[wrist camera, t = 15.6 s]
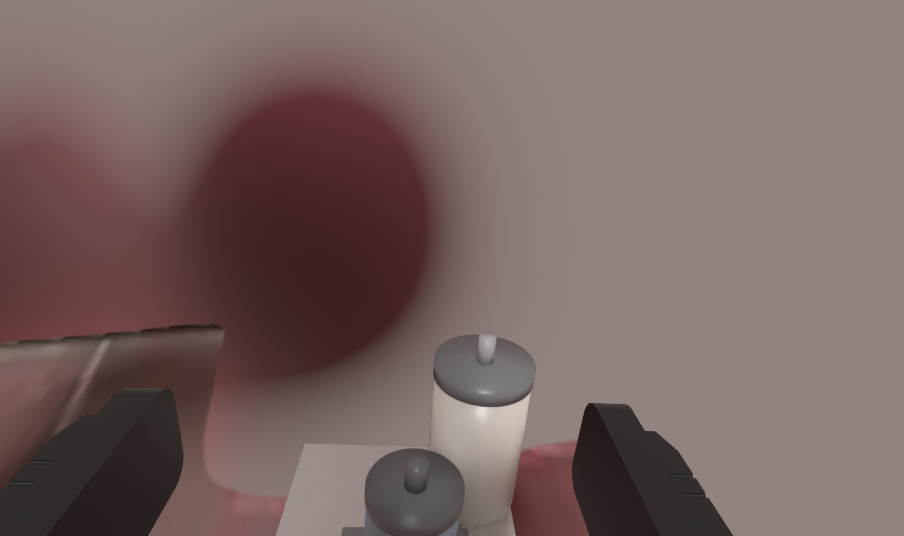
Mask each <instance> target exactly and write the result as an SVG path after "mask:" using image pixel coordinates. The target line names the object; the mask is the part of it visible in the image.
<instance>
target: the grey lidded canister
mask: <svg viewBox="0 0 904 536" xmlns="http://www.w3.org/2000/svg"><path fill="white" fill-rule="evenodd" d="M464 495H465V484H464V480H463V477H462V475H461V473H460V471H459V470H458V468H457V467H456V466H455V465H454V464H453V463H452V462H451V461H450V460H448V459H447V458H446V457H444V456H442V455H440V454H438V453H436V452H433V451H430V450H426V449H419V448H408V449H401V450H397V451H394V452H391V453H389V454H387V455H385V456H383V457H382V458H380V459H379V460H378V461H377V462H376V463H375V464H374V465H373V466H372V467H371V469H370V470H369V472H368V475H367V477H366V481H365V494H364V501H365V507H366V512H365V530H364V536H456V534H457V527H458V521H459V516H460V514H461V511H462V507H463V502H464Z"/></svg>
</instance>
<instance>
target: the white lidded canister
mask: <svg viewBox="0 0 904 536" xmlns="http://www.w3.org/2000/svg"><path fill="white" fill-rule="evenodd" d="M535 372H536V365H535V362H534V360H533V358H532V357H531V355H530V354H529V353H528V352H527V351H526V350H525V349H523V348H522V347H520V346H519V345H517V344H515V343H513V342H510V341H508V340H505V339H502V338H499V337H496V335H495V334H493V333H491V332H482V333H480V335H465V336H459V337H456V338H452V339H450V340H448V341H446V342H444V343H443V344H442V345H441V346H440V347H439V348H438V349H437V351H436V353H435V357H434V372H433V374H434V390H433V403H432V417H431V430H430V443H429V450H430V451H433V452H436V453H438V454H440V455H442V456H444V457H446V458H447V459H448V460H450V461H451V462H452V463H453V464H454V465H455V466H456V467H457V468H458V470H459V471H460V473H461V475H462V477H463V480H464V484H465V495H464V502H463V507H462V511H461V514H460V516H459V521H458V523H461V524H466V525H483V524H488V523H491V522H493V521H496V520H497V519H499V518H501V517H502V516H503V515H504V514H505V513H506V512H507V511H508V509H509V508H510V506H511V504H512V501H513V495H514V489H515V483H516V477H517V471H518V465H519V459H520V453H521V447H522V441H523V434H524V429H525V423H526V417H527V411H528V405H529V399H530V393H531V390H532V388H533V384H534V378H535Z"/></svg>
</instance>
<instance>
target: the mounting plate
mask: <svg viewBox="0 0 904 536" xmlns="http://www.w3.org/2000/svg"><path fill="white" fill-rule="evenodd" d="M408 448H419V449H426V450H429V446H397V445H356V444H314V443H313V444H312V443H311V444H310V443H305V445H304V448H303V451H302V454H301V457H300V461H299V464H298V467H297V470H296V473H295V476H294V480H293V483H292V486H291V489H290V492H289V495H288V499H287V502H286V505H285V508H284V511H283V514H282V518H281V521H280V524H279V527H278V530H277V533H276V536H364V530H365V512H366V507H365V501H364V494H365V481H366V477H367V475H368V472H369V470H370V469H371V467H372V466H373V465H374V464H375V463H376V462H377V461H378V460H379V459H380V458H382V457H383V456H385V455H387V454H389V453H391V452H394V451H397V450H401V449H408ZM456 536H516V534H515V529H514V524H513V519H512V513H511V508H509V509H508V511H507V512H506V513H505V514H504V515H503V516H502V517H501V518H499V519H497V520H496V521H493V522H491V523H488V524H483V525H466V524H461V523H458V527H457V534H456Z"/></svg>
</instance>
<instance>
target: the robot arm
mask: <svg viewBox="0 0 904 536" xmlns="http://www.w3.org/2000/svg"><path fill="white" fill-rule="evenodd" d="M182 466H183V447H182V441H181V435H180V429H179V424H178V418H177V412H176V406H175V400H174V396H173V393H172V392H171V391H170V390H169V389H155V388H123V389H121V390H119V391H118V392H117V393H116V394H115V395H114V396H113V397H112V398H111V400H110V401H109V402H108V403H107V404H106V405H105V406H104V407H103V408H102V409H101V410H100V412H99V413H98V414H97V415H86V416H84V417H83V418H81V419H80V420H78V421H76V422H75V423H73V424H72V425H70V426H68V427H67V428H65V429H64V430H62V431H60V432H59V433H57V434H56V435H54V436H53V437H52V438H51V439H50V440H49V441H48V442H47V443H46V444H45V445H44V446H43V447H42V448H41V449H40V451H39V452H38V453H37V454H36V455H35V456H34V457H33V458H32V459H31V462H30V464H29V465H25V466H24V467H23V468H22V469H21V470H20V471H19V472H18V473H17V474H16V475H15V476H14V477H13V478H12V479H11V480H10V484H9V486H4V487H3V488H2V489H1V490H0V536H148V535H149V533H150V531H151V529H152V528H153V526H154V524H155V523H156V521H157V519H158V517H159V516H160V514H161V512H162V510H163V509H164V507H165V505H166V503H167V502H168V500H169V498H170V496H171V495H172V493H173V491H174V489H175V488H176V486H177V483H178V481H179V478H180V475H181V471H182ZM572 479H573V486H574V491H575V495H576V498H577V501H578V504H579V506H580V509H581V512H582V515H583V518H584V521H585V524H586V526H587V529H588V532H589V535H590V536H733V535H732V533H731V532H730V530H729V529H728V527H727V526H726V524H725V522H724V521H723V519H722V518H721V516H720V515H719V513H718V512H717V510H716V509H715V507H714V506H713V504H712V503H711V501H710V499H709V498H706V497H705V492H704V490H703V489H702V487H701V486H700V484H699V483H698V481H697V479H696V478H693V474H692V472H691V470H690V469H689V467H688V466H687V464H686V463H685V461H684V460H683V458H682V456H681V455H680V454H679V452H678V451H677V450H676V449H675V448H674V447H672V445H670V444H669V443H668V442H667V441H666V440H665V439H663V438H662V437H661V436H660V435H659V434H658V433H656V432H655V431H644V429H643V427H642V425H641V424H640V422H639V421H638V419H637V417H636V416H635V414H634V412H633V410H632V409H631V408H630V407H629V406H628V405H626V404H604V403H589V404H588V405H587V406H586V408H585V411H584V415H583V420H582V424H581V428H580V433H579V437H578V441H577V446H576V450H575V454H574V459H573V465H572Z"/></svg>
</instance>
